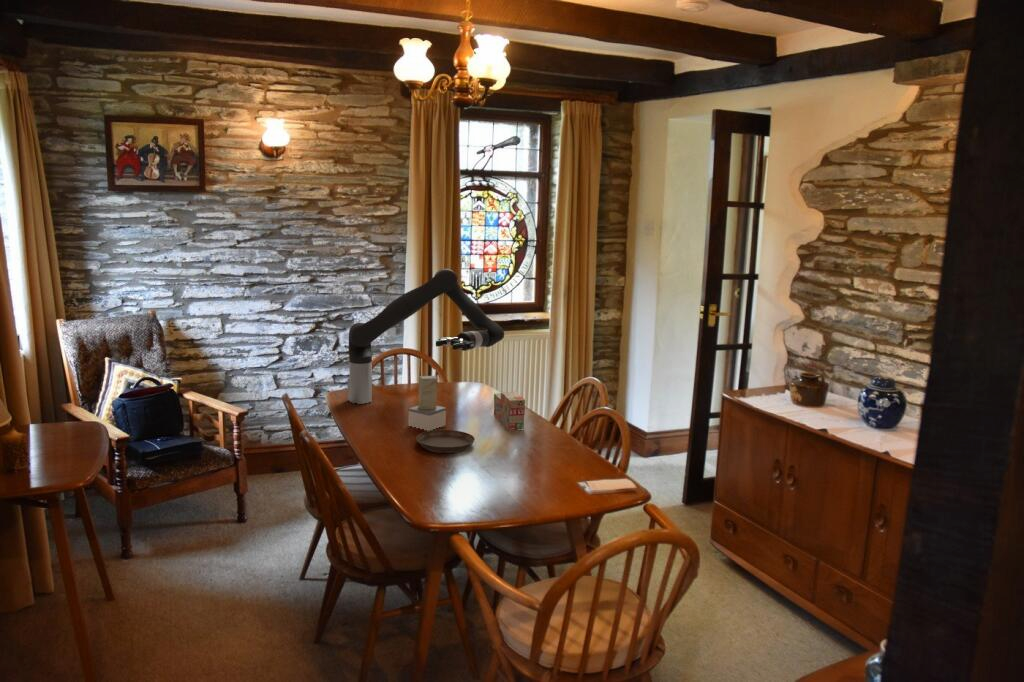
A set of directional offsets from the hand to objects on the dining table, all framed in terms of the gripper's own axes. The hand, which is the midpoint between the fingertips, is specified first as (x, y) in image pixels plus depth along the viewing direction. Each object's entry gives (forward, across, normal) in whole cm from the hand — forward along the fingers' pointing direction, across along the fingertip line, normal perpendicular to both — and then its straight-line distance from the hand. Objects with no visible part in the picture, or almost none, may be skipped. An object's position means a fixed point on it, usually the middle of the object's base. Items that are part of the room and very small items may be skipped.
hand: (444, 345), depth 307 cm
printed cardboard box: (-10, +26, +29) cm, 40 cm away
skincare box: (+15, +5, +22) cm, 27 cm away
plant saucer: (+29, +25, +29) cm, 48 cm away
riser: (+15, +5, +29) cm, 33 cm away
